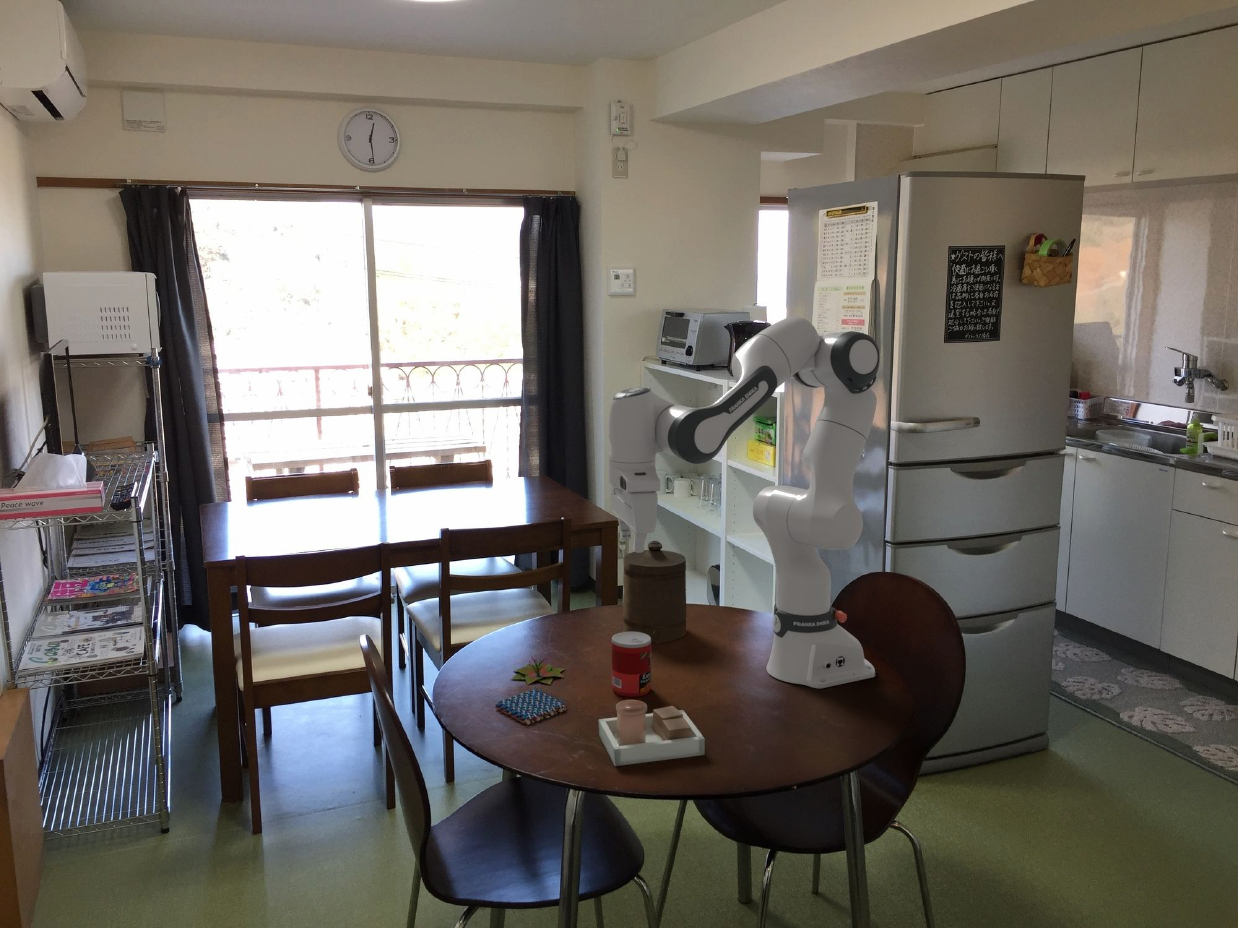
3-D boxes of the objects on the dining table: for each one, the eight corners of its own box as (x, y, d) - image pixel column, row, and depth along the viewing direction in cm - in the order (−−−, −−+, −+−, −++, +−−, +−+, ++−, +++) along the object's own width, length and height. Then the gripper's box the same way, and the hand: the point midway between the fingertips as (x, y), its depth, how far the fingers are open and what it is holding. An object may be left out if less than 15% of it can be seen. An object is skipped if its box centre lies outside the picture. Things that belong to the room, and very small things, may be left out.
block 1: (672, 726, 176) (672, 705, 176) (682, 735, 173) (683, 714, 172) (652, 730, 175) (653, 709, 174) (662, 739, 171) (663, 718, 170)
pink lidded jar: (612, 738, 172) (612, 701, 170) (642, 734, 173) (642, 698, 172) (620, 752, 166) (620, 714, 165) (650, 748, 168) (650, 710, 166)
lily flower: (500, 684, 198) (499, 663, 197) (523, 663, 209) (523, 643, 208) (554, 691, 194) (553, 670, 194) (575, 669, 206) (575, 649, 205)
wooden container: (656, 617, 237) (657, 530, 234) (698, 633, 226) (700, 542, 222) (610, 630, 228) (609, 540, 224) (651, 648, 217) (652, 553, 213)
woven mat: (570, 711, 185) (570, 701, 185) (526, 728, 178) (526, 718, 178) (536, 695, 193) (536, 685, 192) (492, 711, 185) (492, 701, 185)
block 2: (683, 738, 171) (683, 717, 171) (690, 748, 168) (691, 727, 167) (662, 741, 170) (662, 720, 170) (668, 751, 167) (668, 729, 166)
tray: (682, 724, 178) (683, 709, 178) (704, 754, 167) (704, 738, 166) (598, 734, 174) (598, 719, 174) (614, 765, 163) (614, 749, 162)
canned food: (647, 699, 190) (647, 645, 188) (607, 695, 191) (607, 643, 189) (654, 683, 197) (654, 632, 195) (615, 680, 199) (615, 629, 197)
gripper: (603, 465, 191) (603, 533, 194) (629, 485, 172) (629, 560, 174) (633, 464, 193) (633, 531, 195) (663, 483, 173) (662, 557, 176)
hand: (631, 545), depth 185 cm, fingers open, 8 cm apart
